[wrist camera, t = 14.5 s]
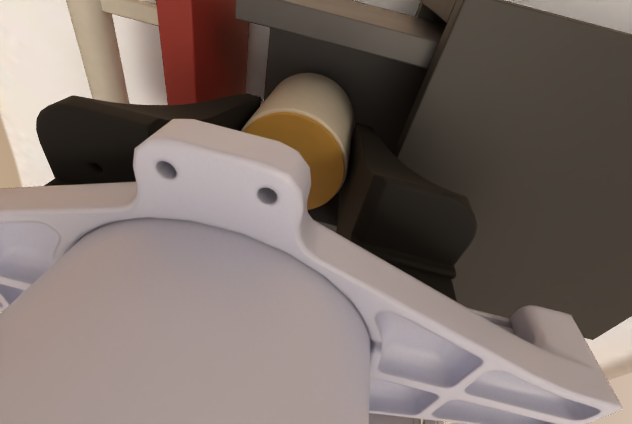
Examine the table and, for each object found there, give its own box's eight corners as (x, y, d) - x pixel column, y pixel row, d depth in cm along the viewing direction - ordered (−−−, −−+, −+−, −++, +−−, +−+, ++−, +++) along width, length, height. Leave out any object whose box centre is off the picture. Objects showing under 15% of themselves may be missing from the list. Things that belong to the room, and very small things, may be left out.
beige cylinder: (290, 167, 16) (267, 222, 12) (251, 92, 14) (210, 134, 10) (366, 143, 14) (362, 199, 11) (335, 56, 12) (319, 91, 9)
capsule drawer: (152, 137, 20) (86, 188, 15) (117, -84, 13) (-19, -109, 8) (397, 200, 20) (403, 269, 15) (486, 14, 13) (543, 39, 9)
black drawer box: (354, 189, 21) (345, 277, 15) (427, -20, 13) (467, -9, 8) (532, 235, 21) (593, 340, 15) (702, 53, 14) (951, 119, 8)
